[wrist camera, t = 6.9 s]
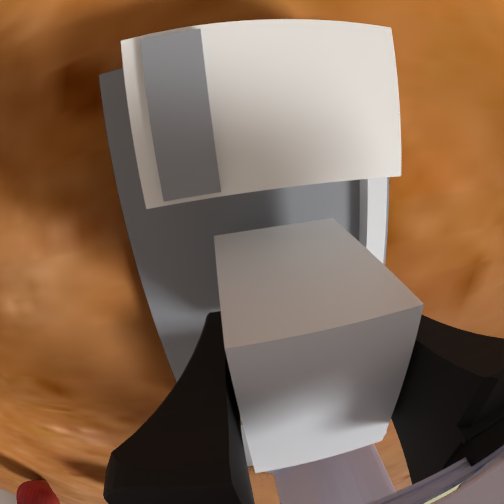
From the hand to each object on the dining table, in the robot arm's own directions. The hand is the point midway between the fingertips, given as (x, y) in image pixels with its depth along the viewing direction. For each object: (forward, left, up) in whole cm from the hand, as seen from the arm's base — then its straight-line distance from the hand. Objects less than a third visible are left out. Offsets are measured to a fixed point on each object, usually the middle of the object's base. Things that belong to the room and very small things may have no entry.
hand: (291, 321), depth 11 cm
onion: (-39, +5, -5) cm, 40 cm away
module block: (0, 0, -2) cm, 2 cm away
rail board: (0, 0, -5) cm, 5 cm away
